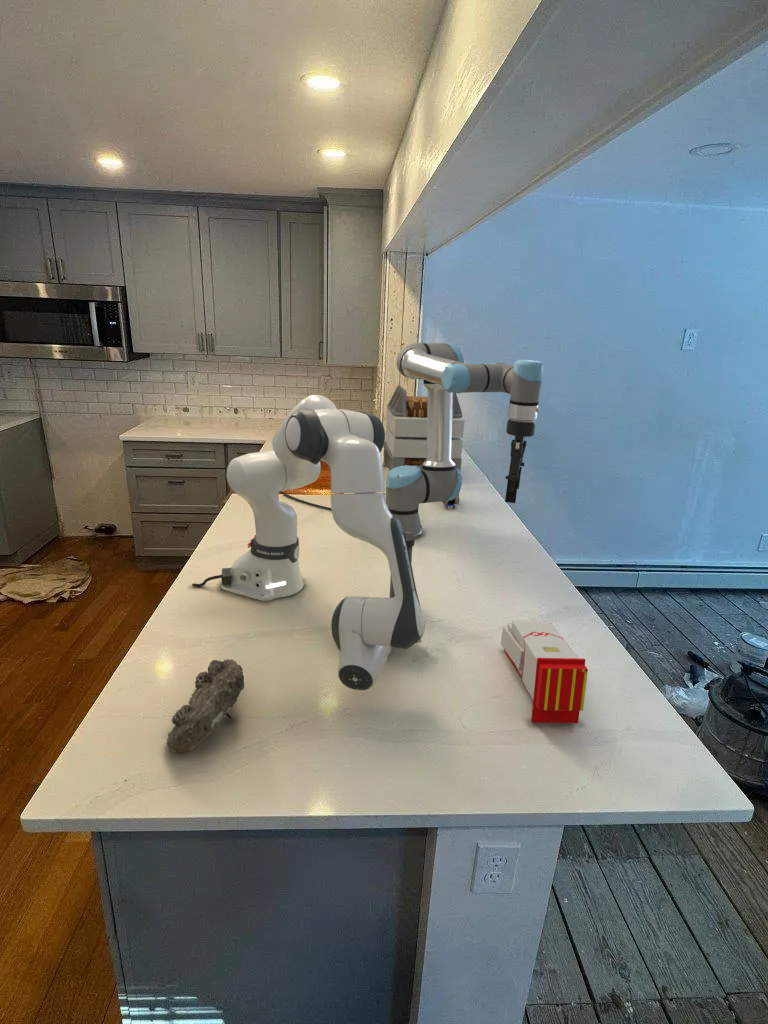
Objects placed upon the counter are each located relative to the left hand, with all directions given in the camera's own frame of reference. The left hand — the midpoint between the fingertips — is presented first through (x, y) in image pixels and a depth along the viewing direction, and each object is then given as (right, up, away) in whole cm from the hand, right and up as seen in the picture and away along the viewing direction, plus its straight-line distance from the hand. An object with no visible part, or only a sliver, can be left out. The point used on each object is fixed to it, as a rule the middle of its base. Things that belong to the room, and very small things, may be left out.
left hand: (388, 607), depth 139 cm
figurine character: (+26, +26, +93) cm, 100 cm away
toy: (+32, -13, -16) cm, 38 cm away
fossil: (-34, -16, -31) cm, 48 cm away
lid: (+4, +17, +7) cm, 18 cm away
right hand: (+35, +28, +20) cm, 49 cm away
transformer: (+16, +42, +136) cm, 143 cm away
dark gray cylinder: (+3, -1, +14) cm, 14 cm away
